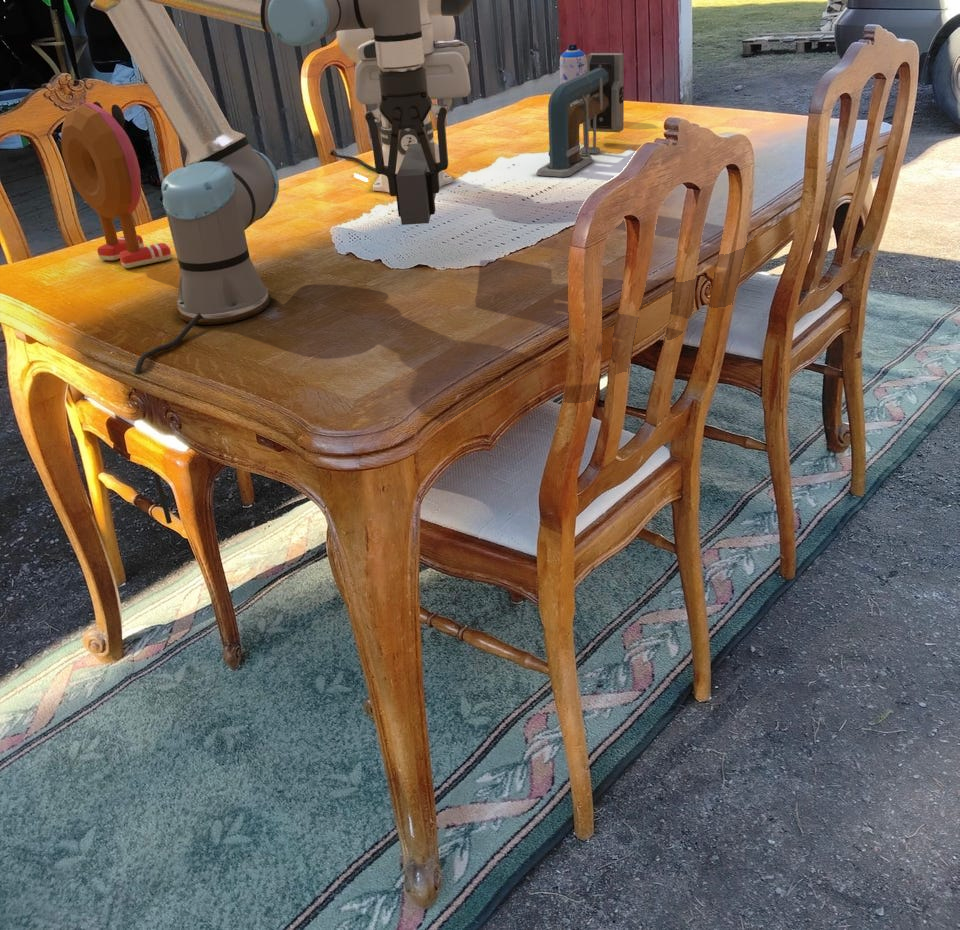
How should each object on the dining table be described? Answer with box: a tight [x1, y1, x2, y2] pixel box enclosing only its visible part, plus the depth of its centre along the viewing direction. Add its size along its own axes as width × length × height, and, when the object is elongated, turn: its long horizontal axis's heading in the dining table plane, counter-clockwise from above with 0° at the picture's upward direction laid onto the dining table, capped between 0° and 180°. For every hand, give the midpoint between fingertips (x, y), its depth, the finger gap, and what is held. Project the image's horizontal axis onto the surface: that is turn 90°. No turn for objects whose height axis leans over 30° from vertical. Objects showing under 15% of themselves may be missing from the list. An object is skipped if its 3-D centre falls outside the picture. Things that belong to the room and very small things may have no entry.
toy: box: [60, 101, 172, 269], centre depth 187 cm, size 21×10×30 cm, turn 47°
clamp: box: [535, 52, 625, 178], centre depth 233 cm, size 35×9×21 cm, turn 151°
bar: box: [396, 143, 437, 226], centre depth 169 cm, size 23×5×8 cm, turn 178°
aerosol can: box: [559, 43, 587, 107], centre depth 273 cm, size 8×8×20 cm
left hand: (417, 212), depth 165 cm, fingers closed on bar, 5 cm apart
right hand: (417, 126), depth 173 cm, fingers open, 8 cm apart
